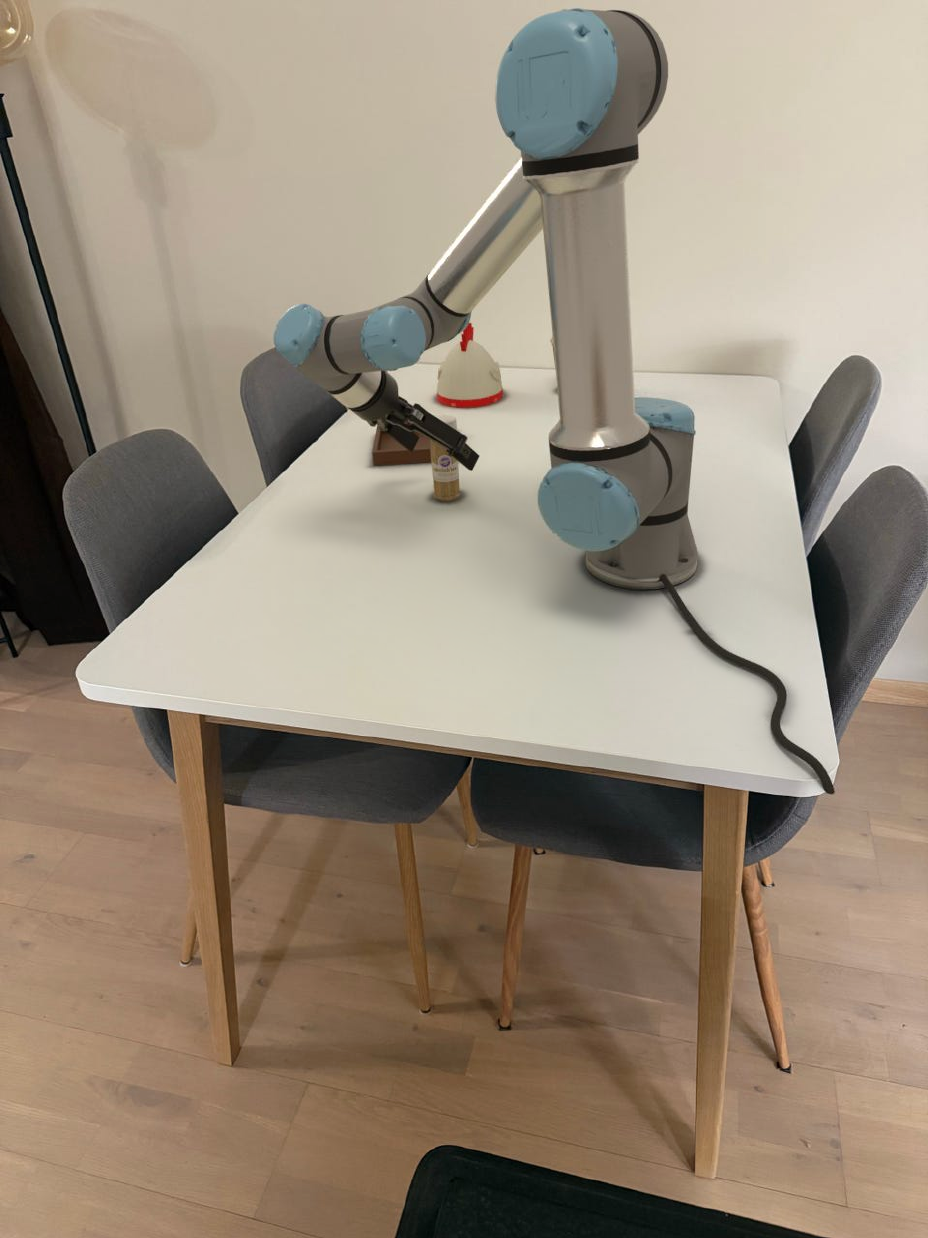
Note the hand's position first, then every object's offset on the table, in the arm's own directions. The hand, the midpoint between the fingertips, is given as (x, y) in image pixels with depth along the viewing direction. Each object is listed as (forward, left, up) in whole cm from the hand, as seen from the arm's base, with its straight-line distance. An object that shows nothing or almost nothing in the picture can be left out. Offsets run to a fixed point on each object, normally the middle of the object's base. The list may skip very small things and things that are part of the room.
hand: (443, 453), depth 146 cm
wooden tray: (+23, +6, -7) cm, 25 cm away
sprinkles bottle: (0, 0, -8) cm, 8 cm away
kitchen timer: (+51, -5, -8) cm, 52 cm away
